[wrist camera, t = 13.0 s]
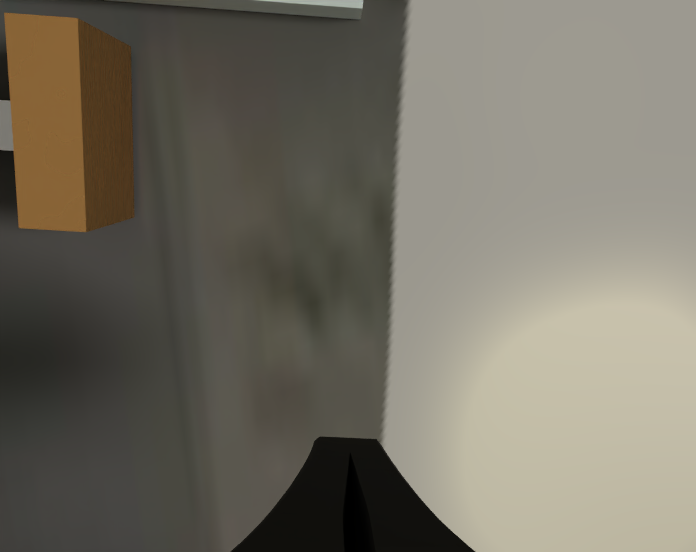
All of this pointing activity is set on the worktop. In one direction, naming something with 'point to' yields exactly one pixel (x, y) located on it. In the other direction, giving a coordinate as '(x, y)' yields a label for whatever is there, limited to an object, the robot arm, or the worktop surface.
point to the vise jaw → (68, 123)
